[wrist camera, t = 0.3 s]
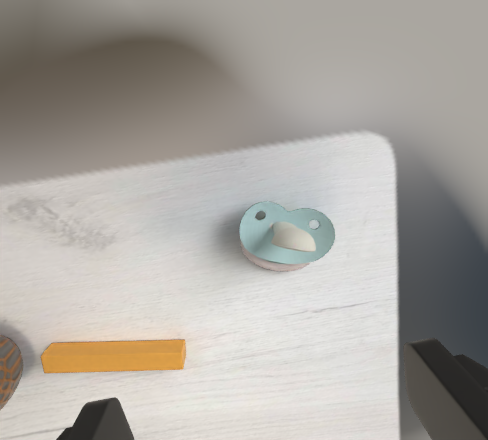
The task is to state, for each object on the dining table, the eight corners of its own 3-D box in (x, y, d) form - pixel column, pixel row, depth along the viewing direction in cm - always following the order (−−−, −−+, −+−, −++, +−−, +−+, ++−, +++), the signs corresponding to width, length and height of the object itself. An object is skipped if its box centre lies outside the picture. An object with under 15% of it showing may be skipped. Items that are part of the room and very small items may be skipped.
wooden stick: (55, 359, 29) (43, 373, 28) (51, 342, 29) (40, 356, 27) (186, 355, 30) (183, 369, 28) (184, 339, 29) (181, 352, 27)
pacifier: (313, 273, 28) (331, 208, 26) (335, 316, 22) (360, 236, 20) (231, 260, 27) (243, 193, 25) (230, 301, 21) (246, 217, 19)
